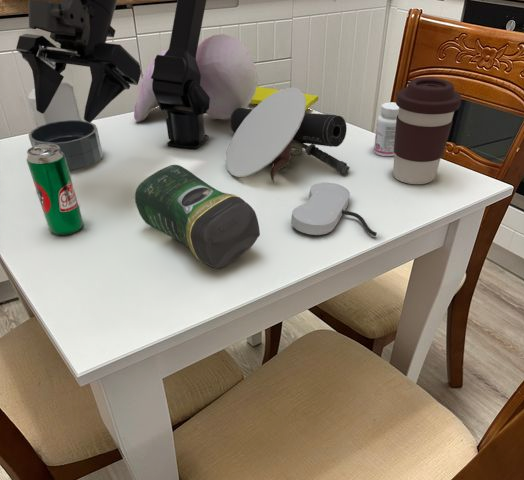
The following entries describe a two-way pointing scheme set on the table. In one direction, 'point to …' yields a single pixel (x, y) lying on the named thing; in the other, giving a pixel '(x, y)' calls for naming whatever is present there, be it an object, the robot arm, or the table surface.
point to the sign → (266, 92)
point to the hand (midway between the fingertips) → (62, 116)
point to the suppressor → (307, 127)
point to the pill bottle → (386, 129)
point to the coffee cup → (423, 128)
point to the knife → (324, 157)
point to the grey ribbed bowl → (71, 141)
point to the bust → (212, 78)
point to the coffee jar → (197, 215)
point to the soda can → (54, 188)
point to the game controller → (324, 210)
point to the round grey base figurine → (267, 134)
